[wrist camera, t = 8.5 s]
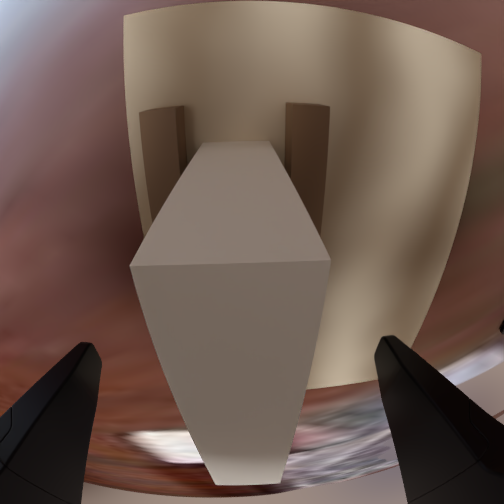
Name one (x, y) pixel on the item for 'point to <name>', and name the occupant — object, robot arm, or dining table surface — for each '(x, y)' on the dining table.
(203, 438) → the white block
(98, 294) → the dining table surface
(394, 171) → the display stand
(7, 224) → the dining table surface
